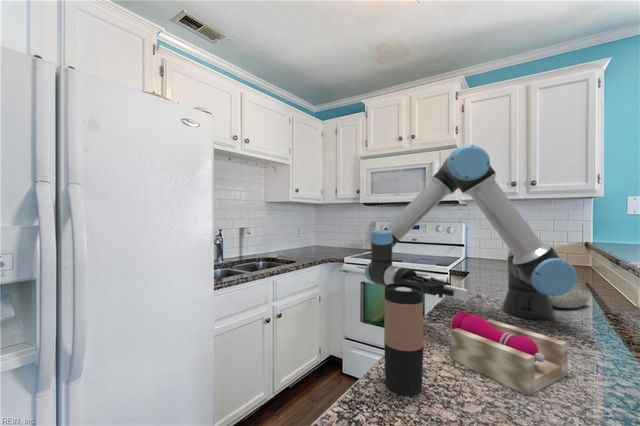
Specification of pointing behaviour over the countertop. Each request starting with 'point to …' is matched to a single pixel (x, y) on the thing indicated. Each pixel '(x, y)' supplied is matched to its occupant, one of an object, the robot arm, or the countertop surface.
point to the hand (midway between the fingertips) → (466, 295)
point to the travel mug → (403, 338)
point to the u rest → (511, 358)
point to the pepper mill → (495, 334)
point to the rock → (569, 300)
